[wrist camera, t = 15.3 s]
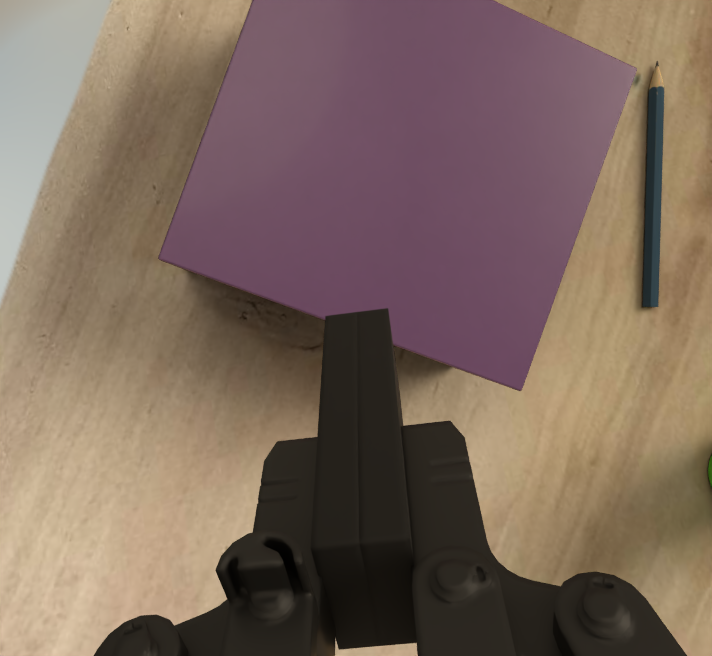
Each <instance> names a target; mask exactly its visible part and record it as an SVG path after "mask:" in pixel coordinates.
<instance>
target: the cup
mask: <svg viewBox="0 0 712 656" xmlns="http://www.w3.org/2000/svg"><path fill="white" fill-rule="evenodd" d="M708 475H709V481H710V484H711V487H712V455H711V458H710V460H709V467H708Z"/></svg>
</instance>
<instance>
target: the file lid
mask: <svg viewBox="0 0 712 656" xmlns="http://www.w3.org/2000/svg"><path fill="white" fill-rule="evenodd" d="M636 71H637V68H635V67H633V66H631V65H629V64H626V63H624V62H622V61H620V60H618V59H616V58H614V57H612V56H610V55H607V54H605V53H603V52H601V51H599V50H597V49H595V48H593V47H591V46H588V45H586V44H584V43H582V42H580V41H578V40H576V39H574V38H572V37H569V36H567V35H565V34H563V33H561V32H559V31H557V30H555V29H553V28H550V27H548V26H546V25H544V24H542V23H540V22H538V21H536V20H533V19H531V18H529V17H527V16H525V15H523V14H521V13H519V12H517V11H514V10H512V9H510V8H508V7H506V6H504V5H502V4H500V3H498V2H495V1H493V0H253V1H252V3H251V6H250V9H249V11H248V14H247V17H246V20H245V22H244V25H243V28H242V30H241V33H240V36H239V39H238V41H237V44H236V47H235V50H234V52H233V55H232V58H231V60H230V63H229V66H228V69H227V71H226V74H225V77H224V79H223V82H222V85H221V88H220V90H219V93H218V96H217V99H216V101H215V104H214V107H213V109H212V112H211V115H210V118H209V120H208V123H207V126H206V128H205V131H204V134H203V137H202V139H201V142H200V145H199V148H198V150H197V153H196V156H195V158H194V161H193V164H192V167H191V169H190V172H189V175H188V177H187V180H186V183H185V186H184V188H183V191H182V194H181V197H180V199H179V202H178V205H177V207H176V210H175V213H174V216H173V218H172V221H171V224H170V226H169V229H168V232H167V235H166V237H165V240H164V243H163V245H162V248H161V251H160V254H159V256H158V259H159V260H161V261H164V262H167V263H169V264H172V265H175V266H178V267H180V268H183V269H186V270H189V271H191V272H194V273H197V274H200V275H202V276H205V277H208V278H210V279H213V280H216V281H219V282H221V283H224V284H227V285H230V286H232V287H235V288H238V289H241V290H243V291H246V292H249V293H252V294H254V295H257V296H260V297H263V298H265V299H268V300H271V301H274V302H276V303H279V304H282V305H285V306H287V307H290V308H293V309H296V310H298V311H301V312H304V313H307V314H309V315H312V316H315V317H318V318H320V319H323V320H325V316H329V315H337V314H345V313H353V312H361V311H369V310H377V309H385V308H388V310H389V318H390V325H391V332H392V340H393V345H394V346H397V347H400V348H403V349H405V350H408V351H411V352H414V353H416V354H419V355H422V356H425V357H427V358H430V359H433V360H436V361H438V362H441V363H444V364H447V365H449V366H452V367H455V368H458V369H460V370H463V371H466V372H469V373H471V374H474V375H477V376H479V377H482V378H485V379H488V380H490V381H493V382H496V383H499V384H501V385H504V386H507V387H510V388H512V389H515V390H518V391H521V390H522V388H523V385H524V382H525V379H526V377H527V374H528V371H529V368H530V366H531V363H532V360H533V357H534V354H535V352H536V349H537V346H538V343H539V341H540V338H541V335H542V332H543V329H544V327H545V324H546V321H547V318H548V316H549V313H550V310H551V307H552V304H553V302H554V299H555V296H556V293H557V291H558V288H559V285H560V282H561V279H562V277H563V274H564V271H565V268H566V266H567V263H568V260H569V257H570V254H571V252H572V249H573V246H574V243H575V241H576V238H577V235H578V232H579V229H580V227H581V224H582V221H583V218H584V215H585V213H586V210H587V207H588V204H589V202H590V199H591V196H592V193H593V190H594V188H595V185H596V182H597V179H598V177H599V174H600V171H601V168H602V165H603V163H604V160H605V157H606V154H607V152H608V149H609V146H610V143H611V140H612V138H613V135H614V132H615V129H616V127H617V124H618V121H619V118H620V115H621V113H622V110H623V107H624V104H625V102H626V99H627V96H628V93H629V90H630V88H631V85H632V82H633V79H634V77H635V74H636Z"/></svg>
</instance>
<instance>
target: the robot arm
mask: <svg viewBox="0 0 712 656" xmlns="http://www.w3.org/2000/svg"><path fill="white" fill-rule="evenodd" d="M216 573H217V575H218V577H219V580H220V582H221V585H222V587H223V589H224V592H225V594H226V596H227V600H226V601H225V602H223V603H222V604H221V605H220V606H218V607H216V608H214V609H212V610H211V611H209V612H207V613H204V614H202V615H200V616H197V617H195V618H192V619H190V620H187V621H185V622H182V623H180V624H177V625H175V626H174V625H173V624H172V622H171V621H170V620H169V619H166V618H164V617H161V616H159V615H144V616H139V617H137V618H134V619H132V620H129V621H127V622H124V623H123V624H122V625H120V626H119V627H118V628H117V629H115V630H114V631H113V632H111V633H110V634H109V635H108V636H107V638H106V639H105V640H104V642H103V643H102V644H101V645H100V647H99V648H98V649H97V651H96V653H95V655H94V656H335V637H336V641H337V644H338V648H339V649H349V648H361V647H372V646H384V645H395V644H407V643H417V651H418V656H687V655H686V654H685V652H684V651H683V650H682V648H681V647H680V645H679V644H678V643H677V641H676V640H675V638H674V637H673V636H672V634H671V633H670V632H669V630H668V629H667V627H666V626H665V625H664V623H663V622H662V620H661V619H660V618H659V616H658V615H657V614H656V612H655V611H654V609H653V608H652V607H651V605H650V604H649V603H648V601H647V600H646V598H645V597H644V596H643V595H642V594H641V593H640V592H639V591H638V590H637V589H636V588H635V587H634V586H633V585H631V584H630V583H628V582H626V581H624V580H622V579H620V578H618V577H616V576H614V575H610V574H605V573H600V572H588V573H581V574H577V575H575V576H573V577H572V578H570V579H568V580H566V581H565V582H564V583H563V584H562V586H556V585H551V584H546V583H541V582H537V581H532V580H529V579H526V578H523V577H520V576H518V575H516V574H514V573H512V572H511V571H509V570H507V569H506V568H505V567H504V566H503V565H501V564H500V563H499V562H498V561H497V559H496V558H495V557H494V555H493V554H492V552H491V550H490V548H489V545H488V542H487V539H486V534H485V529H484V525H483V520H482V516H481V511H480V507H479V502H478V497H477V493H476V488H475V484H474V479H473V474H472V470H471V465H470V462H469V456H468V451H467V447H466V442H465V438H464V436H463V435H462V434H461V433H460V432H459V431H458V429H457V428H456V427H455V426H454V425H453V423H452V422H451V421H443V422H434V423H425V424H416V425H407V426H403V419H402V409H401V399H400V392H399V384H398V377H397V369H396V362H395V355H394V347H393V340H392V332H391V325H390V318H389V310H388V308H385V309H377V310H369V311H361V312H353V313H345V314H337V315H329V316H325V329H324V345H323V360H322V375H321V391H320V406H319V422H318V437H313V438H304V439H295V440H287V441H278V442H277V443H276V444H275V446H274V447H273V449H272V450H271V452H270V453H269V455H268V456H267V458H266V459H265V461H264V466H263V472H262V478H261V486H260V491H259V497H258V504H257V509H256V516H255V522H254V528H253V533H249V534H247V535H245V536H244V537H242V538H240V539H239V540H237V541H235V542H234V543H232V545H231V546H230V547H229V548H228V549H227V550H226V551H225V552H224V553H223V555H222V556H221V558H220V561H219V563H218V565H217V568H216Z"/></svg>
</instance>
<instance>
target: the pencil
mask: <svg viewBox="0 0 712 656" xmlns="http://www.w3.org/2000/svg"><path fill="white" fill-rule="evenodd" d="M663 119H664V84H663V80H662V76H661V73H660V69H659V65H658V61H657V63H656V67H655V70H654V73H653V77H652V80H651V83H650V87H649V99H648V132H647V167H646V203H645V239H644V274H643V307H658V296H659V262H660V227H661V192H662V157H663Z"/></svg>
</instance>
